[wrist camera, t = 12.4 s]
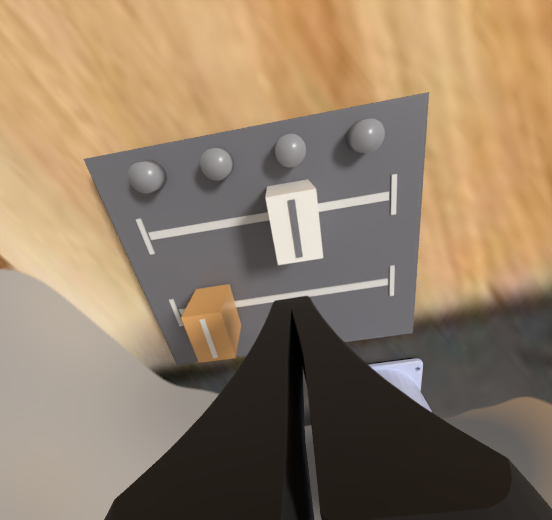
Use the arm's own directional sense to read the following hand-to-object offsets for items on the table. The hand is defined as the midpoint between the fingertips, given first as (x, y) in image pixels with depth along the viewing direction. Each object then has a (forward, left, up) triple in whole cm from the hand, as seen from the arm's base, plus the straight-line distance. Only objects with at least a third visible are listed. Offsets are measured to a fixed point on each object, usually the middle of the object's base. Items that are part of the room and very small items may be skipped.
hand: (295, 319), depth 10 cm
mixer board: (-1, +1, -10) cm, 10 cm away
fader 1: (-4, +5, -8) cm, 10 cm away
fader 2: (+2, -1, -8) cm, 8 cm away
